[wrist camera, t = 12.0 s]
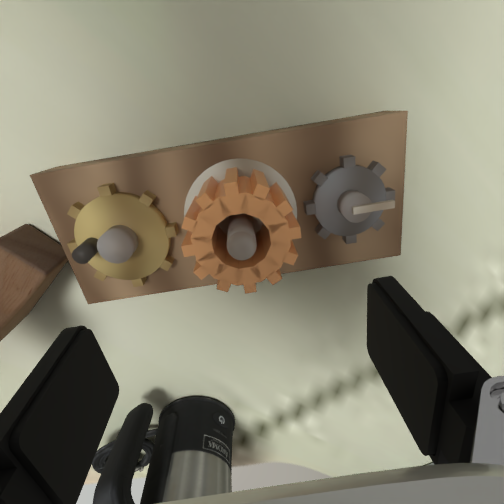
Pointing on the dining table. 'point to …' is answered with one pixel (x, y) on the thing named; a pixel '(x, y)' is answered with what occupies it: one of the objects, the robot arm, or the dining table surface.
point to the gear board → (234, 226)
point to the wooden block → (25, 272)
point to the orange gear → (215, 240)
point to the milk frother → (169, 453)
